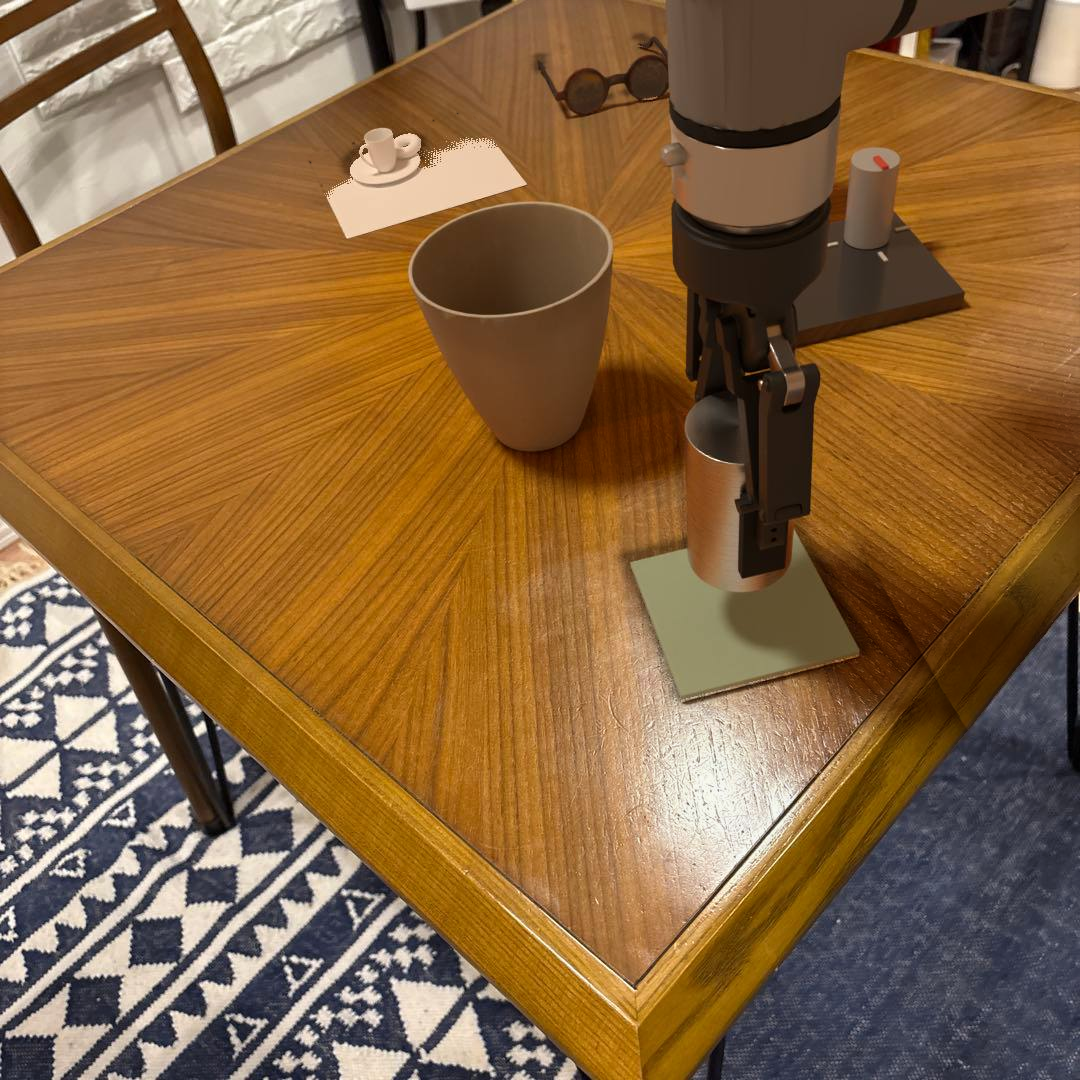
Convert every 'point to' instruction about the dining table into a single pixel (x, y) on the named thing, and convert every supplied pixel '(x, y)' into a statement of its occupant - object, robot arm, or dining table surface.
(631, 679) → the dining table surface
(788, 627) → the trivet
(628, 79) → the eyeglasses
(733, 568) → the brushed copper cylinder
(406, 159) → the teacup and saucer
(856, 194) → the hob knob
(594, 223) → the plant pot
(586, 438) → the dining table surface
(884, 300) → the hob control panel
